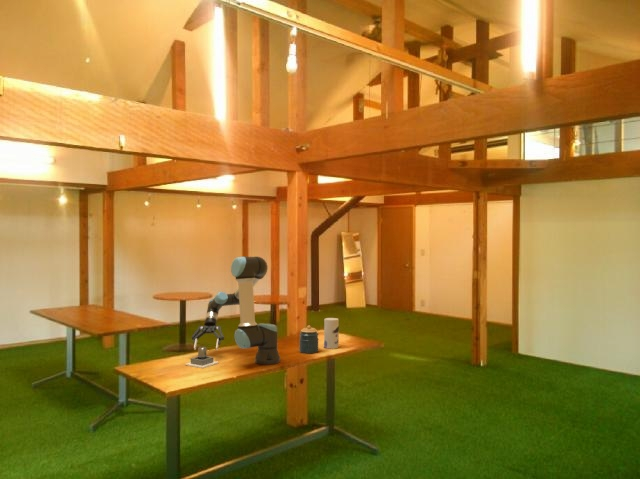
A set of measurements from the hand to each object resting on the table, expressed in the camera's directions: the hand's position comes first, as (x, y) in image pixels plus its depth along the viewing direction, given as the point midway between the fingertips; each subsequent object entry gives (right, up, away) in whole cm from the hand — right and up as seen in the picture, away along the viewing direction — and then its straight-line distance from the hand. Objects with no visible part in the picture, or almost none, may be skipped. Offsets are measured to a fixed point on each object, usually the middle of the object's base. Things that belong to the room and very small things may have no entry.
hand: (205, 348), depth 296 cm
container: (+79, -8, +38) cm, 88 cm away
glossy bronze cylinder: (0, -6, -9) cm, 11 cm away
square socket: (0, -7, -10) cm, 12 cm away
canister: (+63, -8, +25) cm, 68 cm away
